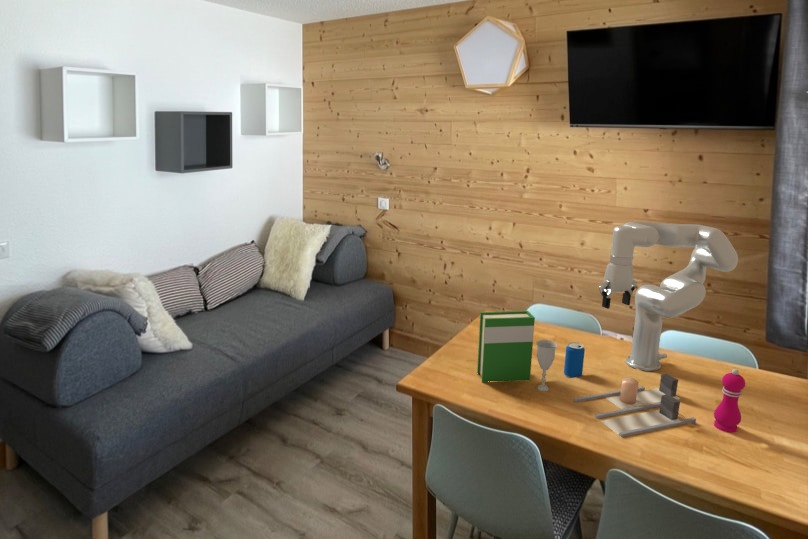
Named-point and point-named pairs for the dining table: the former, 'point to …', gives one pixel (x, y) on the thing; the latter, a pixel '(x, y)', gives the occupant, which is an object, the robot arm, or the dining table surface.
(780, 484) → the dining table surface
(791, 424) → the dining table surface
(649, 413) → the strip
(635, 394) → the light brown rounded piece
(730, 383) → the pepper mill
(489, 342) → the hardback book
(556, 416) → the dining table surface
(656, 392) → the strip
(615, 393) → the track board
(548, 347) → the chalice
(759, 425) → the dining table surface
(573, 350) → the beverage can
